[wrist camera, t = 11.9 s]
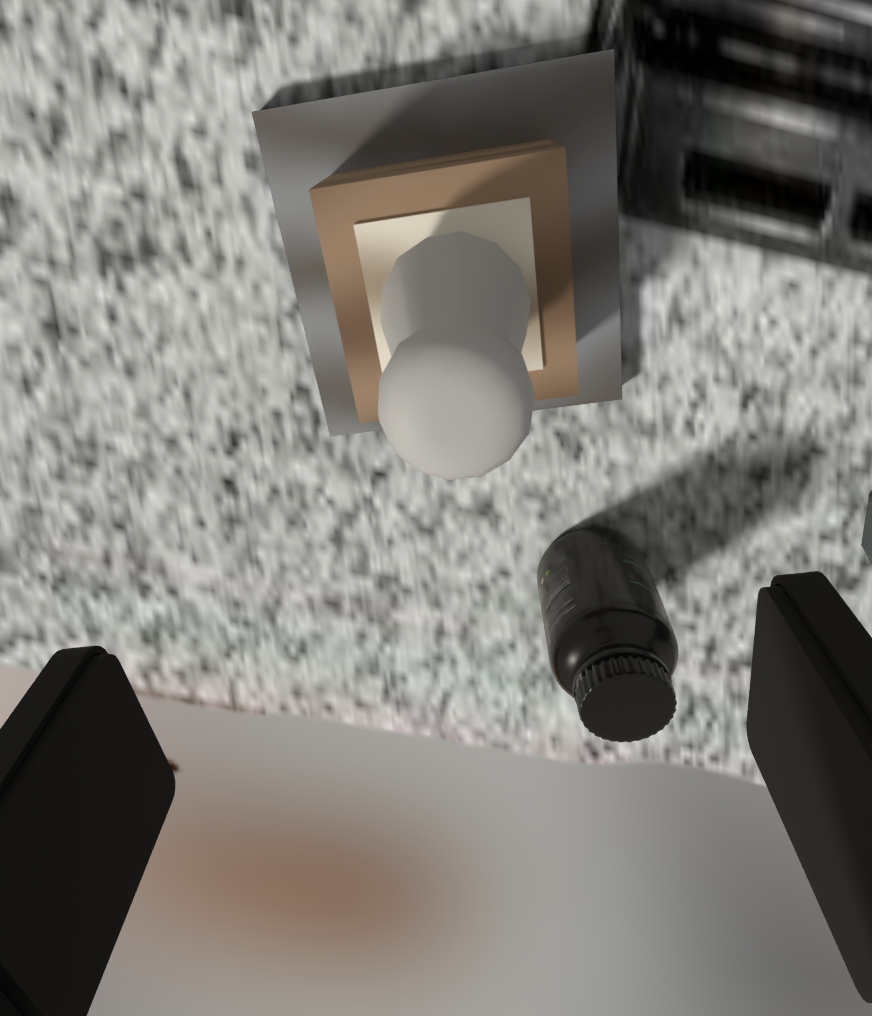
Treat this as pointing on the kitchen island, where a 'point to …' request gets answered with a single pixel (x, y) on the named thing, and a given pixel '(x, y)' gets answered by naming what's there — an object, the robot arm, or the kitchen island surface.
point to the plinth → (455, 216)
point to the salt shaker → (455, 357)
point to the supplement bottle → (608, 634)
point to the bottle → (868, 530)
